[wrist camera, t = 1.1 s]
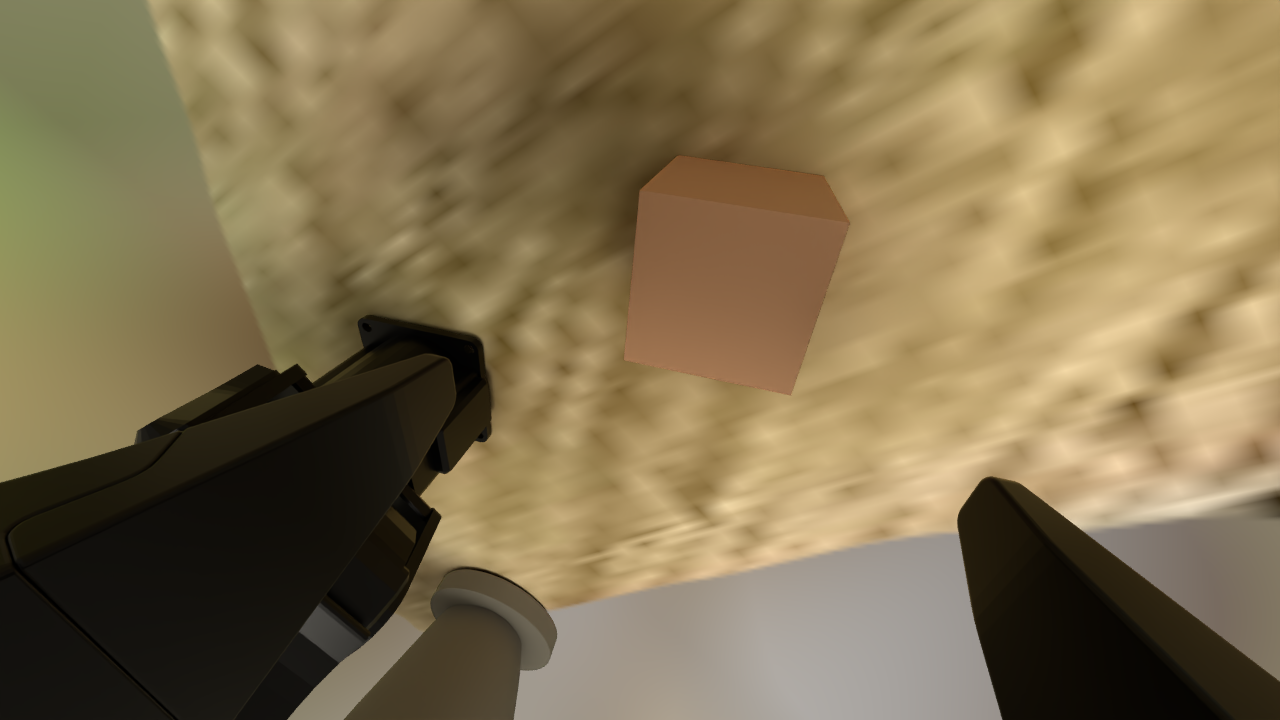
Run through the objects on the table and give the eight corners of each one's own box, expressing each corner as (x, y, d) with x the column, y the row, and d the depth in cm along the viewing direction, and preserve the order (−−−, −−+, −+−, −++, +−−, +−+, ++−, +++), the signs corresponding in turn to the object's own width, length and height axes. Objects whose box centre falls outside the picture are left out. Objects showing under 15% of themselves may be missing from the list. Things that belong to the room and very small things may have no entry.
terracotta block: (661, 285, 19) (623, 360, 14) (678, 154, 16) (639, 190, 11) (784, 308, 18) (791, 395, 13) (823, 175, 16) (850, 223, 11)
